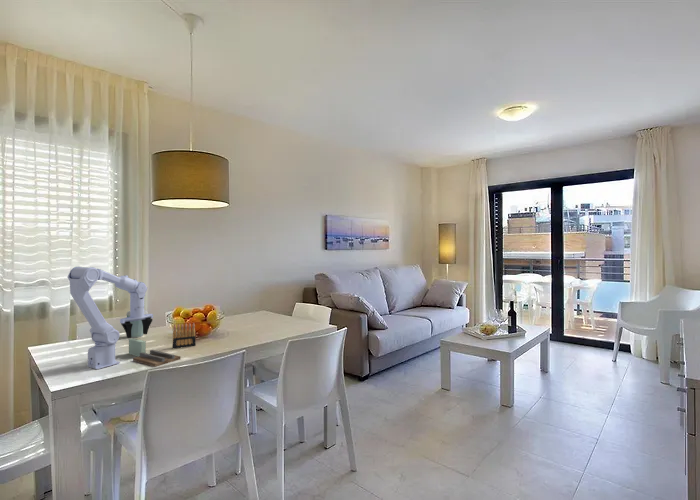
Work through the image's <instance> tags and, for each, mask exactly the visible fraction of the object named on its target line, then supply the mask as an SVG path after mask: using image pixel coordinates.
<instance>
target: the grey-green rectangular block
mask: <svg viewBox="0 0 700 500" xmlns="http://www.w3.org/2000/svg"><path fill="white" fill-rule="evenodd" d="M146 347H147V341H146V340H141V339H138V338H128V354H129V355H132V356H135V357H139V356H140V353H142V352H143V353H146V351H147V349H146Z"/></svg>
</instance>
